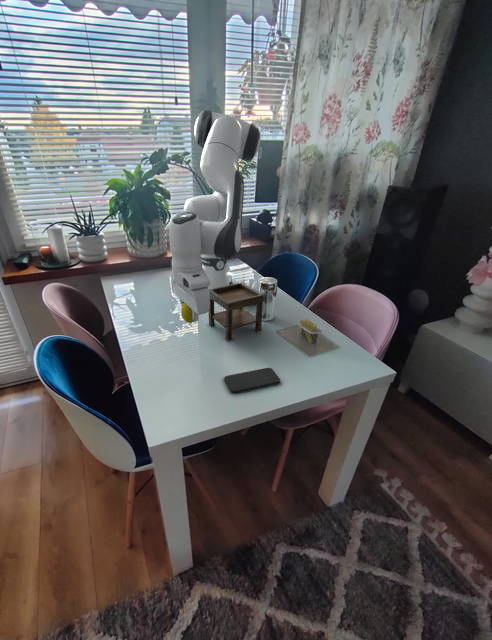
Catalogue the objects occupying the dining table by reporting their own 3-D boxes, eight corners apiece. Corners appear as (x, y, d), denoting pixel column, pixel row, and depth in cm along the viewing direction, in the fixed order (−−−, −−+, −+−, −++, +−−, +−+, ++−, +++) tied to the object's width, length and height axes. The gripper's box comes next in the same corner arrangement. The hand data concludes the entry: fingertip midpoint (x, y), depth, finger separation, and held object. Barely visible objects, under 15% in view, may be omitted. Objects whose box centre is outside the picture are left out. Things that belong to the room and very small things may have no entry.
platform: (309, 356, 104) (312, 338, 100) (277, 331, 117) (279, 315, 113) (338, 347, 108) (342, 329, 105) (303, 324, 122) (306, 308, 118)
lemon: (191, 317, 108) (190, 295, 103) (202, 323, 105) (201, 300, 100) (178, 323, 105) (176, 300, 100) (189, 329, 101) (187, 305, 97)
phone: (223, 376, 94) (270, 366, 97) (223, 378, 94) (270, 369, 98) (231, 391, 88) (281, 381, 91) (231, 394, 88) (281, 383, 92)
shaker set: (235, 309, 133) (235, 283, 127) (230, 305, 137) (230, 279, 130) (260, 304, 137) (262, 278, 131) (255, 300, 141) (257, 275, 134)
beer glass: (273, 322, 123) (277, 284, 115) (255, 320, 125) (257, 283, 116) (275, 314, 129) (278, 277, 121) (257, 312, 130) (259, 276, 122)
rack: (208, 324, 122) (207, 289, 114) (240, 316, 128) (241, 282, 120) (228, 340, 112) (228, 303, 104) (261, 330, 118) (263, 294, 110)
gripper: (164, 265, 101) (168, 305, 109) (192, 286, 87) (195, 331, 95) (182, 261, 104) (185, 301, 112) (213, 282, 89) (214, 326, 97)
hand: (190, 315), depth 103 cm, fingers closed on lemon, 5 cm apart
